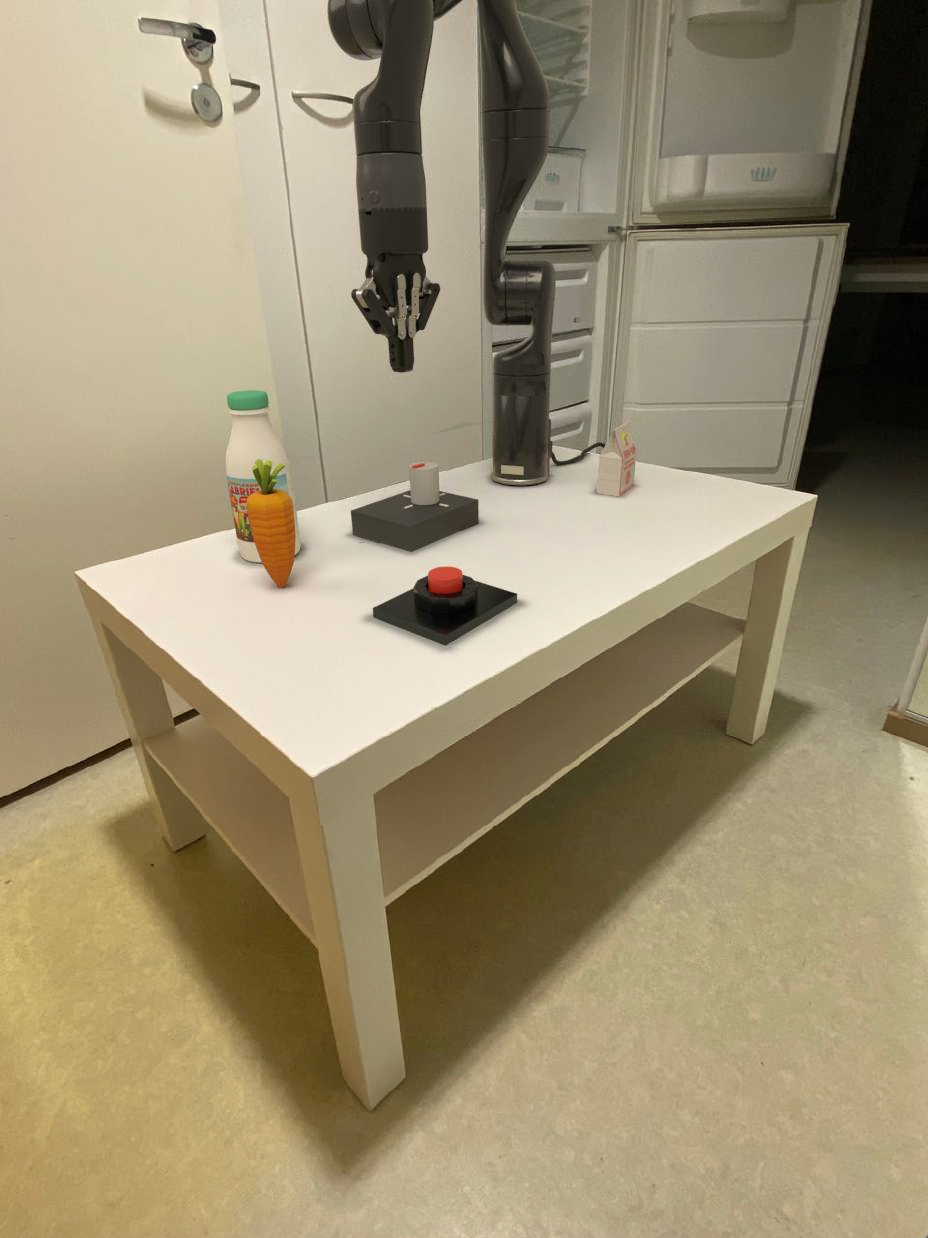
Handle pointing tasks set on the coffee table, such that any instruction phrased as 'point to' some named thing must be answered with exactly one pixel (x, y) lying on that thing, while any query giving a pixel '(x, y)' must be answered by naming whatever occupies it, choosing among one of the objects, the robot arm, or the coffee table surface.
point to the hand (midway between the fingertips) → (402, 371)
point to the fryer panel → (414, 520)
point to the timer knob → (424, 483)
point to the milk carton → (617, 463)
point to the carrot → (272, 523)
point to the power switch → (444, 609)
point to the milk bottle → (253, 463)
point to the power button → (445, 580)
